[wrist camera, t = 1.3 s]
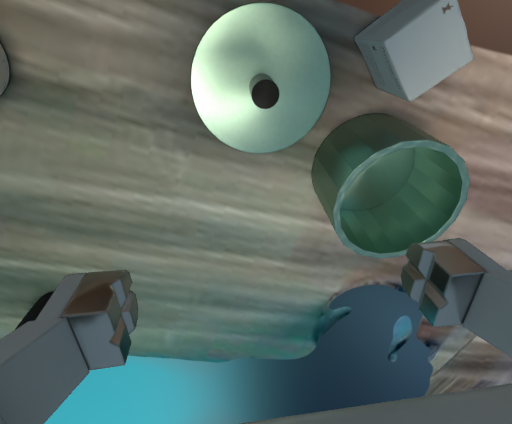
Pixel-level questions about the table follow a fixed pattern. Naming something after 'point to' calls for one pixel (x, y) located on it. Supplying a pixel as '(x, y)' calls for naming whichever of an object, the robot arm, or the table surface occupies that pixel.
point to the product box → (415, 46)
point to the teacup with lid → (3, 70)
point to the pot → (388, 185)
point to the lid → (260, 77)
